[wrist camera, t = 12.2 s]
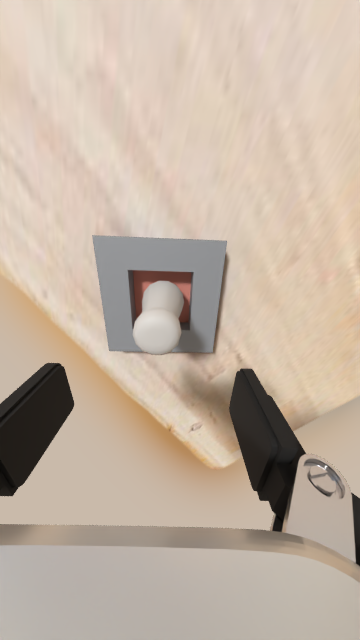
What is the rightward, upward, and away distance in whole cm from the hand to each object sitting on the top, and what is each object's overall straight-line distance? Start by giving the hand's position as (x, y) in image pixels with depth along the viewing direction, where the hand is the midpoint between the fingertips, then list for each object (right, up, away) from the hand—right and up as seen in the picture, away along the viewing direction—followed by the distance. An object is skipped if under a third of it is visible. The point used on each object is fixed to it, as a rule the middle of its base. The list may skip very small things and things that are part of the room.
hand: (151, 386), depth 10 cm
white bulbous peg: (-1, +7, +17) cm, 19 cm away
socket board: (-1, +7, +17) cm, 19 cm away
